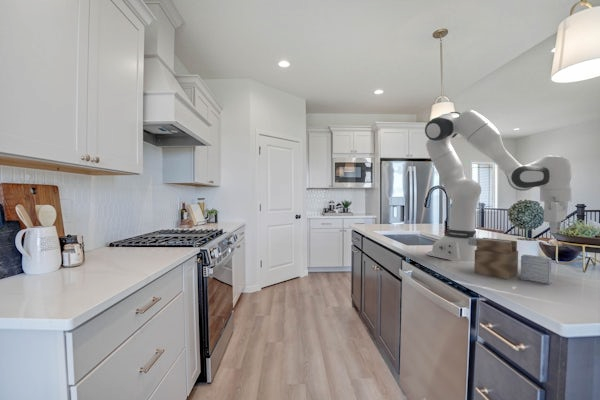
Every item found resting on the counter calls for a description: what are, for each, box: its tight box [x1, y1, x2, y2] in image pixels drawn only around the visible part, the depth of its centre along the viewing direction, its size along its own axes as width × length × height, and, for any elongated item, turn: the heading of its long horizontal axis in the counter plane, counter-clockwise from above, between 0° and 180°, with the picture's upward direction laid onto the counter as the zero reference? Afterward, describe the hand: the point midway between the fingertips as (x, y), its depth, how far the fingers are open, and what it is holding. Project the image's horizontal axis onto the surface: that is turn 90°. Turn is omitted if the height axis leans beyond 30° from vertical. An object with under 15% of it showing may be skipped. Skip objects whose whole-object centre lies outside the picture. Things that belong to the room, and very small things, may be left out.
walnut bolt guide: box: [474, 237, 519, 281], centre depth 105 cm, size 11×12×13 cm
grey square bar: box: [468, 237, 512, 246], centre depth 107 cm, size 14×3×3 cm, turn 38°
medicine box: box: [520, 254, 552, 285], centre depth 96 cm, size 8×4×9 cm, turn 41°
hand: (555, 232), depth 104 cm, fingers open, 4 cm apart
